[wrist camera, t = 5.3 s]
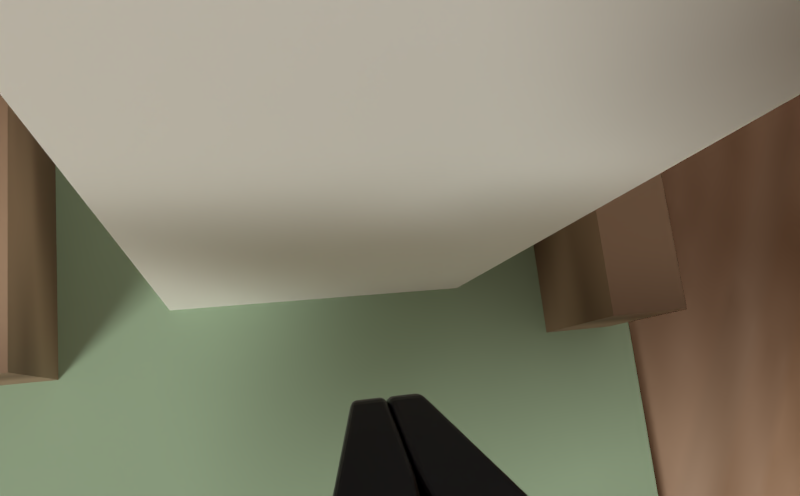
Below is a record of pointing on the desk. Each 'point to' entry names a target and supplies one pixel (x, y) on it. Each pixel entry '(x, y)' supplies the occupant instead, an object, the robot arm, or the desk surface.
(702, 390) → the desk surface
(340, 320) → the putting strip
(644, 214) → the wooden tray
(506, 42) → the cream block
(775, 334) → the desk surface
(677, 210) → the desk surface
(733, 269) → the desk surface
